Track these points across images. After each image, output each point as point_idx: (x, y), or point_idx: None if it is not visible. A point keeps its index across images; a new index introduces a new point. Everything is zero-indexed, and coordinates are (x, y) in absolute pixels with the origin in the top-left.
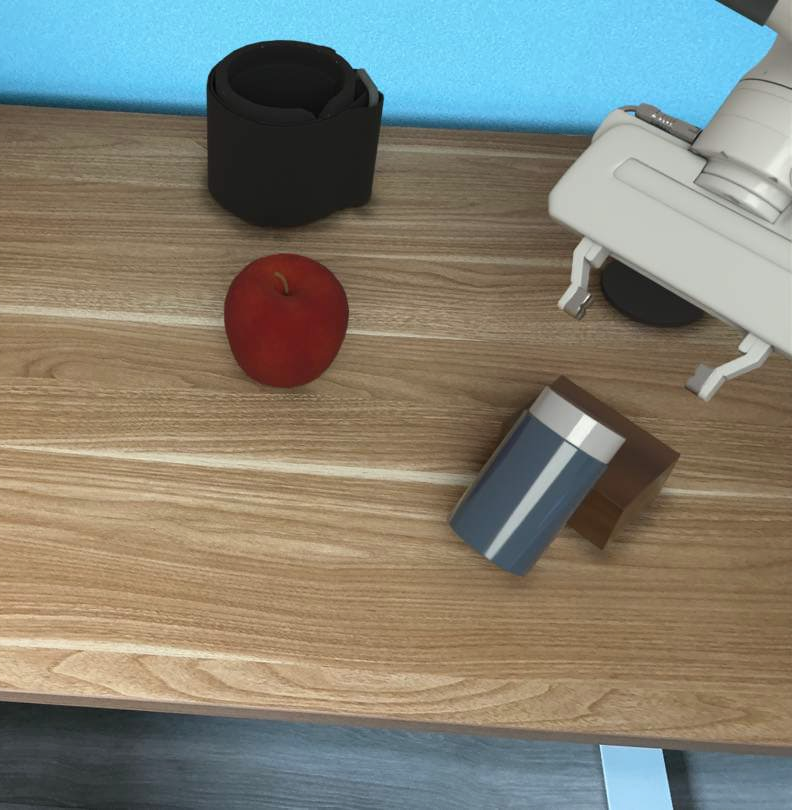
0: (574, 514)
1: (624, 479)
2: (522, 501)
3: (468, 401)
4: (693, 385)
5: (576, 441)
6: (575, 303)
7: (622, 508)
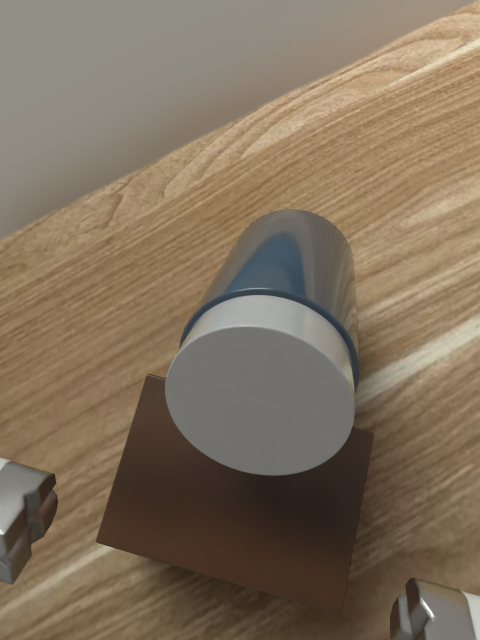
0: None
1: (162, 430)
2: (275, 239)
3: (435, 537)
4: (25, 473)
5: (241, 300)
6: (445, 615)
7: (149, 374)
